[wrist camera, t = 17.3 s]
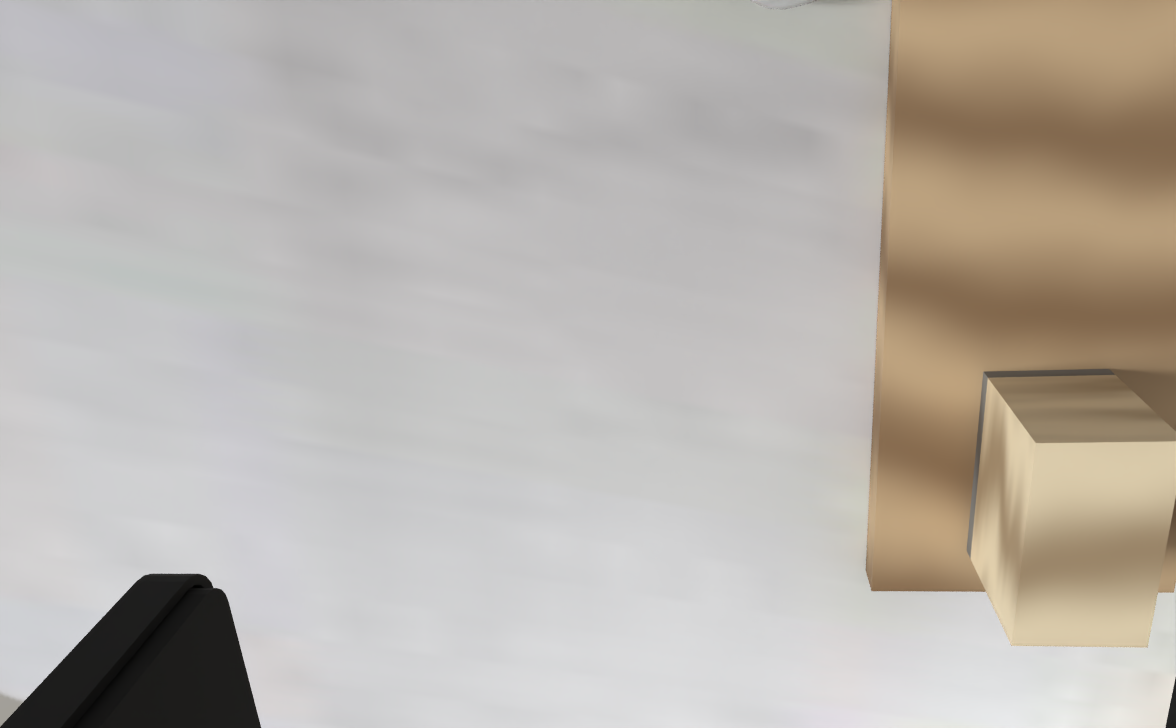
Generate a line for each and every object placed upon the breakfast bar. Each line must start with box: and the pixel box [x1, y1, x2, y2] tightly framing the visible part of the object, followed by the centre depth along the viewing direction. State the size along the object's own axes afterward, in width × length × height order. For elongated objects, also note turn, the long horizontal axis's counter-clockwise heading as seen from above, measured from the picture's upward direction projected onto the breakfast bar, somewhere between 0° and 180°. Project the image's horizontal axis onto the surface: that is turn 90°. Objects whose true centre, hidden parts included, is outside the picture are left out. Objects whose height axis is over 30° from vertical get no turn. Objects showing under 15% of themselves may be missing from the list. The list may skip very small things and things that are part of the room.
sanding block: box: [967, 369, 1176, 647], centre depth 34 cm, size 8×4×6 cm, turn 4°
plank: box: [866, 0, 1176, 593], centre depth 35 cm, size 26×12×2 cm, turn 4°
